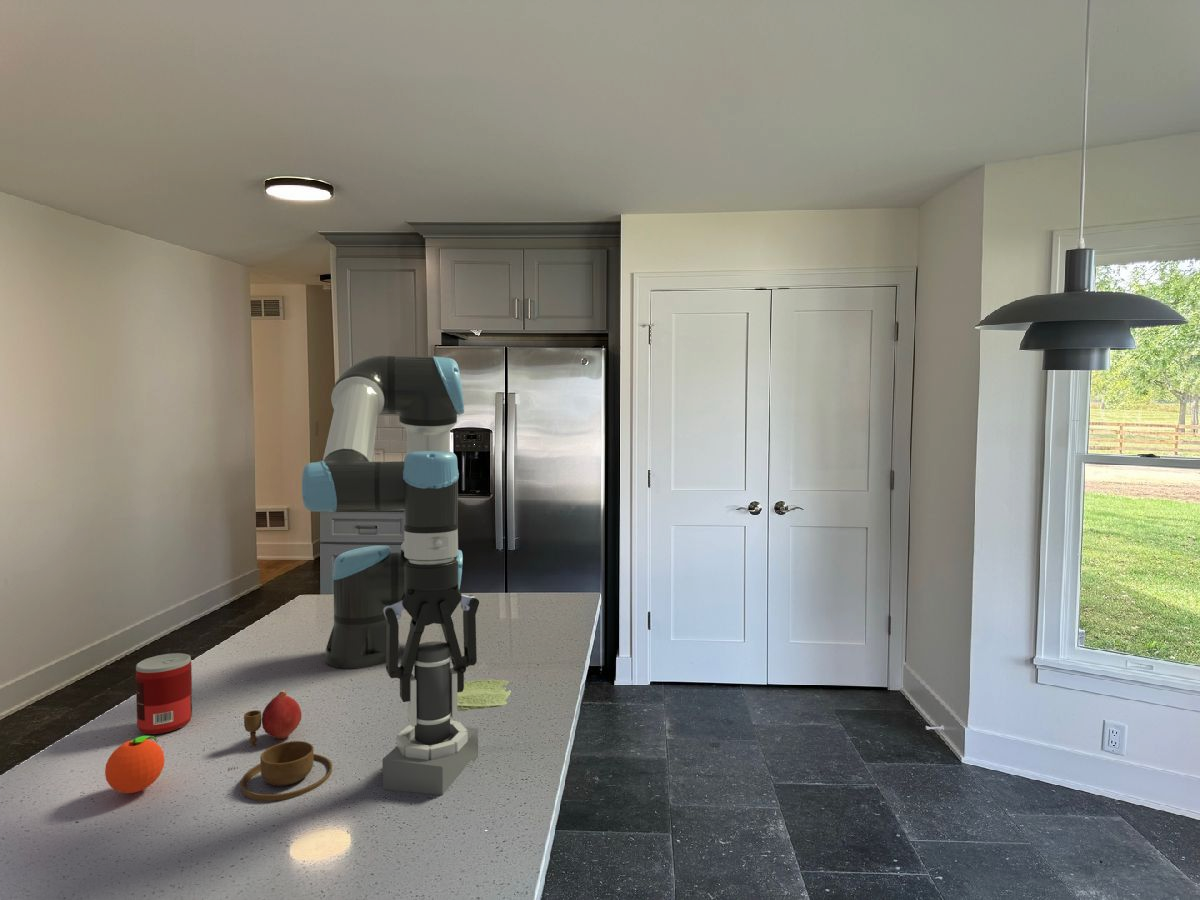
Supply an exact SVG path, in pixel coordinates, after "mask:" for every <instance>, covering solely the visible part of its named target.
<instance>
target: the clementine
mask: <svg viewBox="0 0 1200 900" xmlns="http://www.w3.org/2000/svg"><path fill="white" fill-rule="evenodd" d="M148 738H152V739H153V740H151V739H148ZM164 755H165V754H164V750H163V748H162V747H161V746H160V745H159V744H158V741H157V738H156V737H155V736H154V735H142V736H137V737H136V738H134V739H130V740H128V741H126V742H124V743H122V744H121V745H119V746H118V747H117V748H116V749H114V751H113V752H112V753H111V754H110V755H109V757H108V759H107V761H106V764H105V770H104V775H105V780H106V782H107V784H108V785H109V787H110V788H112V789H113V790H114V791H116V792H119V793H122V794H123V793H124V794H133V793H137V792H140V791H143V790H146V789H147V788H149V786H151V785H152V784H154V783H155V782H156V781H157V779H158V778H159V777H160V775H161V773H162V771H163V768H164V766H165V756H164Z"/></svg>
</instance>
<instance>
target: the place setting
mask: <svg viewBox="0 0 1200 900" xmlns="http://www.w3.org/2000/svg"><path fill="white" fill-rule="evenodd" d="M243 723H244V728H245V729H244V730H245V731H246V732H248V733H249V735H250V737H249V743H250V745H249V747H250V748H254V747H256V746H257V744H256V743H257V741H258V738H257V736H256V734H257V731H258V730H260V728H261V726H262V711H261V710H250V711H246V712H245V713H244V715H243ZM259 757H260V760H259V761H260V763H259V764H256V765H255V766H253V767H252V768H250V769H249V770H248V771H247V772H245V773H244V775H243V776H242V778H241V780H240V789H241V791H242V793H243V795H244V796H245V797H247V798H248V799H250V800H252V801H255V802H256V801H257V802H277V801H283V800H288V799H289V800H290V799H294V798H296V797H299V796H301V795H305V794H306V793H307V794H308V793H309V792H311V791H313V790H316V789H317V788H318V787H320V786H321V785H323V784H324V783H325V782H326V781H327V780H328V779H329V778H330V776H331V774H332V770H333V763H332V762H331V760H330V759H329V758H327V757H325V756H323V755H321V754H315V753H314V746H313V744H311V743H310V742H306V741H302V740H294V741H293V740H292V741H285V742H281V743H277V744H275V745H273V746H270V747H269V748H268V747H267V748H266V750H264V751H262V753H261V754H260V756H259ZM315 760H316V761H321V762H323V763H325V764H326V765H327V766H328V768H329V769H328V771H327V772H326V774H325V775H324V776H322V778H321V779H319V780H318V781H316V782H314V783H312V784H310V785H308V786H306V787H303V788H301V789H298V790H294V791H289V792H283V793H276V794H263V793H256V792H253V791H251V790H250V789H248V788H247V786H248V784H247V783H249V782H250V781H251V780H252V779H253V778H254V777H255V776H257V775H258V774H259V773H260V774H261V777H262V779H263V780H264V781H265V782H266V783H268V784H270V785H272V786H276V787H286V786H291V785H294V784H296V783H298V782H300V781H301V780H303V779H305V778H306V777H307V776H308V775H309V774H310V772H311V771H312V768H313V766H314V761H315ZM235 769H237V770H238V769H239V766H237V767H234V768H233V767H231V769H230V767H229V768H228V769H227V771H228V772H229V771H232V770H235ZM253 776H254V777H253ZM252 777H253V778H252ZM251 778H252V779H251ZM250 779H251V780H250ZM249 780H250V781H249ZM248 781H249V782H248Z"/></svg>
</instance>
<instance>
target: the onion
mask: <svg viewBox="0 0 1200 900" xmlns="http://www.w3.org/2000/svg"><path fill="white" fill-rule="evenodd" d="M302 714H303V713H302V710H301V707H300V705H299V703H298V702H297V701H296V700H295V699H294V698H292V697H290V696H288V695H287V691H286V690H281V691H280V692H279V693H278V694H277V695H276V696H275V697H273V699H271V700H270V702H269V703H268V704H267V705H266V706H265V707H264V710H263V712H262V713H261V726H262V728H263V731H264V732H265V733H267V734H268V735H269V736H271V737H273V738H276V739H278V740H285V739H287V737H289V736H290V735H291V734H292V733H293V732H294V731H295V730H296V729H297V728H298V726H300V723H301V720H302Z"/></svg>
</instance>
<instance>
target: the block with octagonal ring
mask: <svg viewBox="0 0 1200 900" xmlns="http://www.w3.org/2000/svg"><path fill="white" fill-rule="evenodd" d="M477 758H478V759H479V728H478V727H469V726H464V724H462V723H461V721H457V720H453V719H450V736H449V737H448V738H447V739H446V740H444V741H441V742H437V743H421V742H418V741H417V740H416V739H415V726H411V725H410V724H409V725H407V726H406V727H405V728H404V729H402V731H400V732H399V733H398V734H397V735H396V746H395V747H394V748H393V749H392V750H391V751H390V752H389V753H387V754H386V755H385V756H384V757H383V758H382V790H391V791H392V790H393V791H402V792H409V793H410V792H412V793H419V794H420V793H421V794H429V795H438V796H443V795H444V794H445V793H446V792H447V791H448V789H449V788H450V787H451V785H453V783H454V782H455V781H456V780H457V779H458V777H459V776H460V775H461V773H462V772H463V771H464V770H465V769H466V768H467V766H468V765H469V764H470V763H471V761H472V762H473V763H474V762H475V760H476V759H477Z"/></svg>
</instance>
